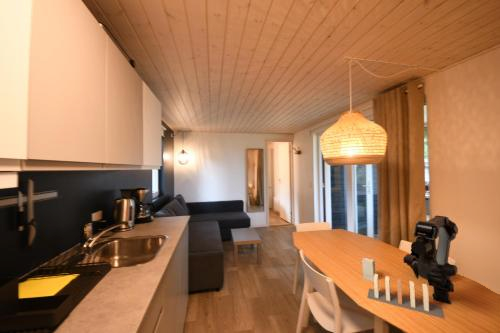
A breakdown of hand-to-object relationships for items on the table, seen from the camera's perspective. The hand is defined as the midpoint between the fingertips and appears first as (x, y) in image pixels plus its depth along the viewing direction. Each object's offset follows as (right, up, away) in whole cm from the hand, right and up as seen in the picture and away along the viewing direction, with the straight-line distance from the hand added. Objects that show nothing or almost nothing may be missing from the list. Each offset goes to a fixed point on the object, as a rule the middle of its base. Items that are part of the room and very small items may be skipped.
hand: (429, 282), depth 100 cm
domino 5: (-1, -12, +1) cm, 13 cm away
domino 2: (-13, -13, +9) cm, 21 cm away
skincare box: (-13, -14, +28) cm, 34 cm away
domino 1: (-18, -13, +12) cm, 25 cm away
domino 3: (-9, -13, +7) cm, 17 cm away
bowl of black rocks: (+23, -12, +28) cm, 38 cm away
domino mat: (-8, -13, +6) cm, 17 cm away
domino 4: (-5, -13, +4) cm, 14 cm away
